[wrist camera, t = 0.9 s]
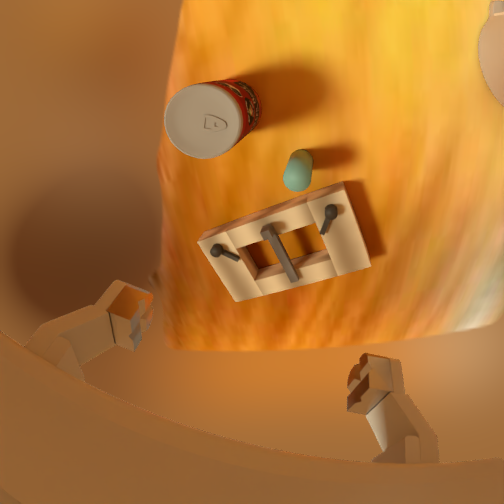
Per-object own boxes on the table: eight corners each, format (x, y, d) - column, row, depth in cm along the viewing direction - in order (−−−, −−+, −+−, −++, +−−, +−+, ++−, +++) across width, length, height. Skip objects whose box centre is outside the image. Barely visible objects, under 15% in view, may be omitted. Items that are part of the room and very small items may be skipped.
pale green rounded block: (307, 146, 37) (304, 161, 31) (316, 167, 38) (315, 186, 33) (285, 154, 38) (278, 171, 33) (295, 174, 40) (290, 195, 34)
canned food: (266, 133, 37) (246, 156, 28) (207, 138, 39) (171, 163, 30) (259, 75, 33) (235, 77, 24) (198, 84, 35) (157, 92, 26)
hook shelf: (342, 181, 38) (345, 196, 34) (369, 254, 43) (372, 276, 39) (204, 232, 48) (191, 250, 43) (240, 290, 52) (232, 311, 48)
